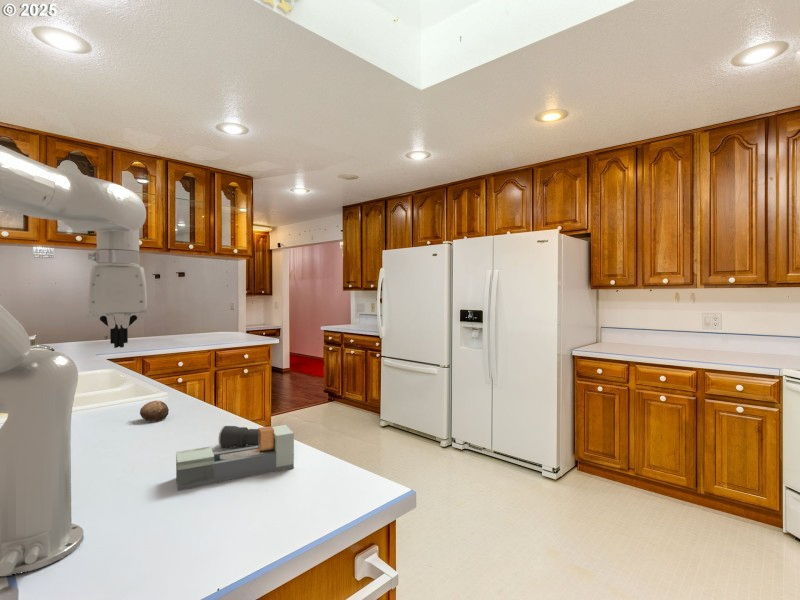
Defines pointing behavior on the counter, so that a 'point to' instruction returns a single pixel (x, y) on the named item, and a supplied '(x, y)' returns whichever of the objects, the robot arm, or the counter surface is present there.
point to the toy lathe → (233, 462)
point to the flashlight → (237, 436)
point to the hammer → (263, 443)
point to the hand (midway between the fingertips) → (119, 346)
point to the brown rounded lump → (154, 411)
